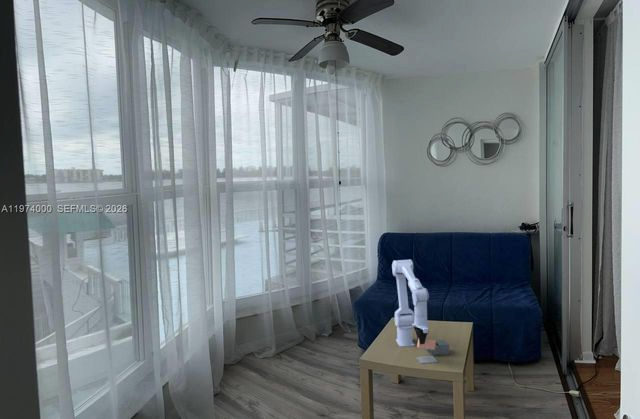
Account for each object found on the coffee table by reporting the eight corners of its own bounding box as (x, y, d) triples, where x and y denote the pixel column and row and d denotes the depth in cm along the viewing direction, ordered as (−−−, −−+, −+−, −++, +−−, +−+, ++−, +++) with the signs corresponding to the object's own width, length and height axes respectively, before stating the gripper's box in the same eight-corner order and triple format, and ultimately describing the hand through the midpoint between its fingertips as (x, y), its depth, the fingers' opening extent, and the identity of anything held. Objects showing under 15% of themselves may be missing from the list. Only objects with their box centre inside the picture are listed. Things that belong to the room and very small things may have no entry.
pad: (416, 357, 205) (416, 356, 205) (432, 356, 206) (432, 355, 206) (421, 363, 198) (421, 362, 198) (437, 362, 199) (437, 361, 199)
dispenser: (427, 351, 212) (426, 341, 212) (444, 349, 213) (444, 339, 213) (431, 355, 206) (431, 345, 206) (449, 354, 207) (449, 344, 207)
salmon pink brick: (417, 346, 202) (418, 338, 202) (433, 348, 203) (434, 340, 203) (418, 348, 200) (419, 339, 200) (434, 349, 201) (436, 341, 201)
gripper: (407, 310, 207) (408, 337, 208) (417, 320, 193) (417, 349, 194) (422, 309, 208) (422, 336, 209) (432, 319, 193) (433, 348, 194)
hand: (421, 342), depth 201 cm, fingers closed on salmon pink brick, 2 cm apart
